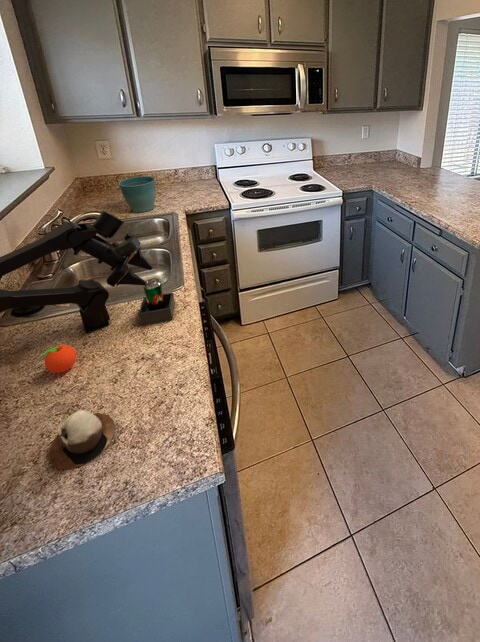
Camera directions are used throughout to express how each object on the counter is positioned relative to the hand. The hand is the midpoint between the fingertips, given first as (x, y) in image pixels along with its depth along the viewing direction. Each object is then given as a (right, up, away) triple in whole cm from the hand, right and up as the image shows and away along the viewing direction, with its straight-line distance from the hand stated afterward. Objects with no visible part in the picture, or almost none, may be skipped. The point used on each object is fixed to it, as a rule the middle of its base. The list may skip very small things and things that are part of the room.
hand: (148, 276), depth 114 cm
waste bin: (+2, -13, +3) cm, 14 cm away
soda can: (+2, -13, +3) cm, 13 cm away
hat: (+4, -29, -36) cm, 47 cm away
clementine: (-14, -22, -18) cm, 32 cm away
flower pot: (-48, +21, +90) cm, 104 cm away
